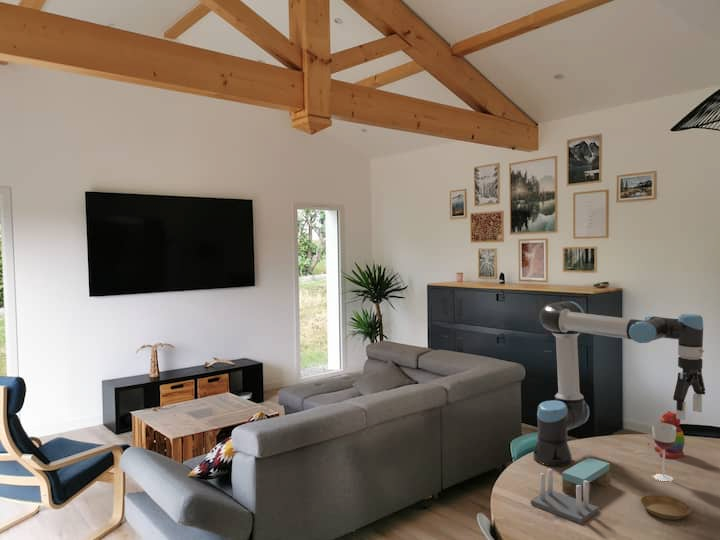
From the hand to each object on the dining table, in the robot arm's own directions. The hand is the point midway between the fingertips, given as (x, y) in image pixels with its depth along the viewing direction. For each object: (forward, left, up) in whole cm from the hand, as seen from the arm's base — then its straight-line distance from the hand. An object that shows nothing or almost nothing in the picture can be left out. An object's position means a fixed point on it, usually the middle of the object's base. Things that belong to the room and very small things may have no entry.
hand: (689, 415), depth 197 cm
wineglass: (-9, +2, -27) cm, 29 cm away
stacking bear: (-16, +29, -27) cm, 43 cm away
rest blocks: (-25, -27, -27) cm, 45 cm away
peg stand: (-23, -47, -27) cm, 58 cm away
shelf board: (-25, -27, -22) cm, 43 cm away
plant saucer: (+1, -25, -27) cm, 37 cm away
